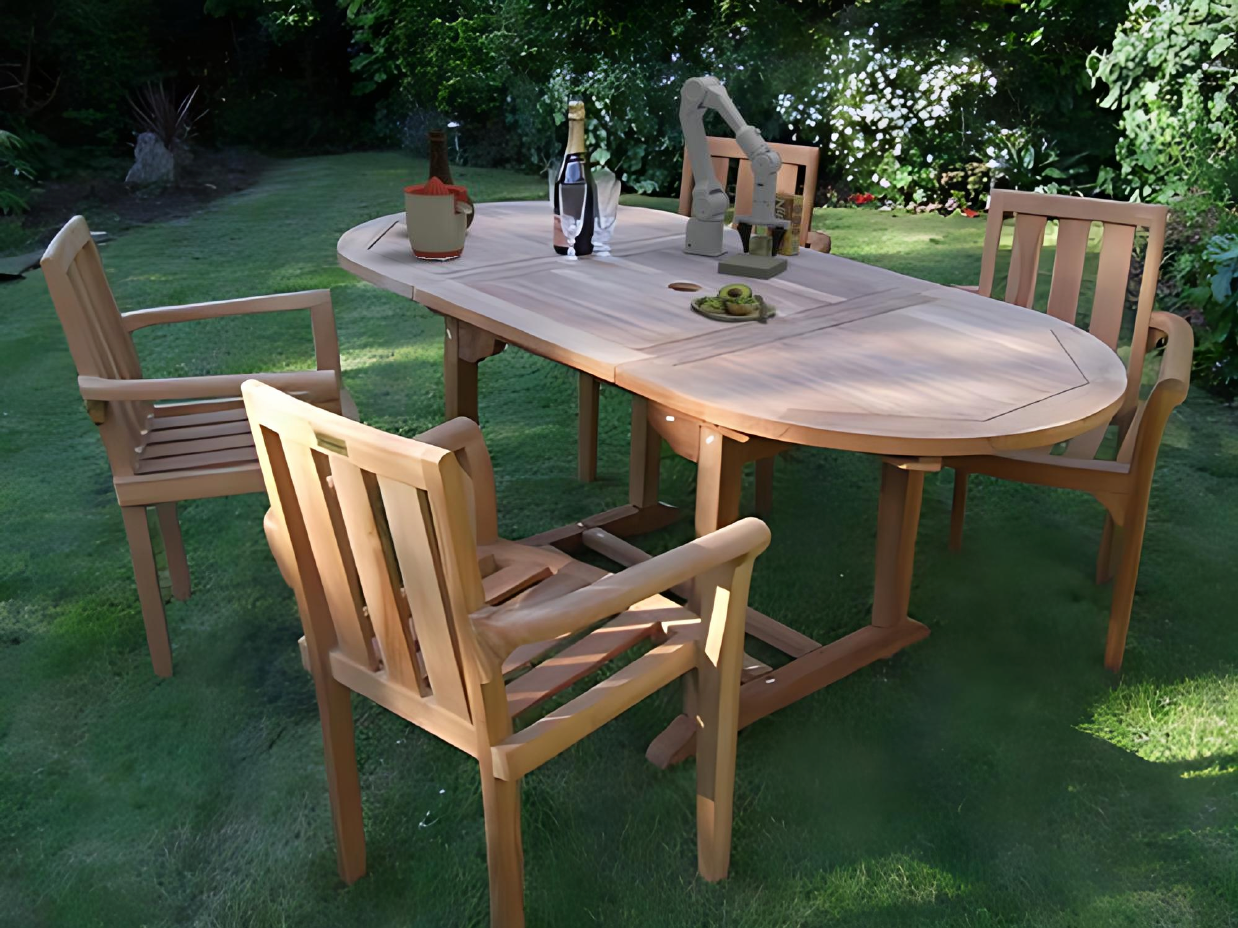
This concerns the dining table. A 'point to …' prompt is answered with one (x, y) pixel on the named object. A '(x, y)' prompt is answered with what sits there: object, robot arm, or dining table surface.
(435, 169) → the glass bottle
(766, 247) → the sage block
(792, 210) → the candy box
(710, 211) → the robot arm
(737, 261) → the base board
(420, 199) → the citrus juicer
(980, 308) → the dining table surface
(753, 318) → the salad plate
